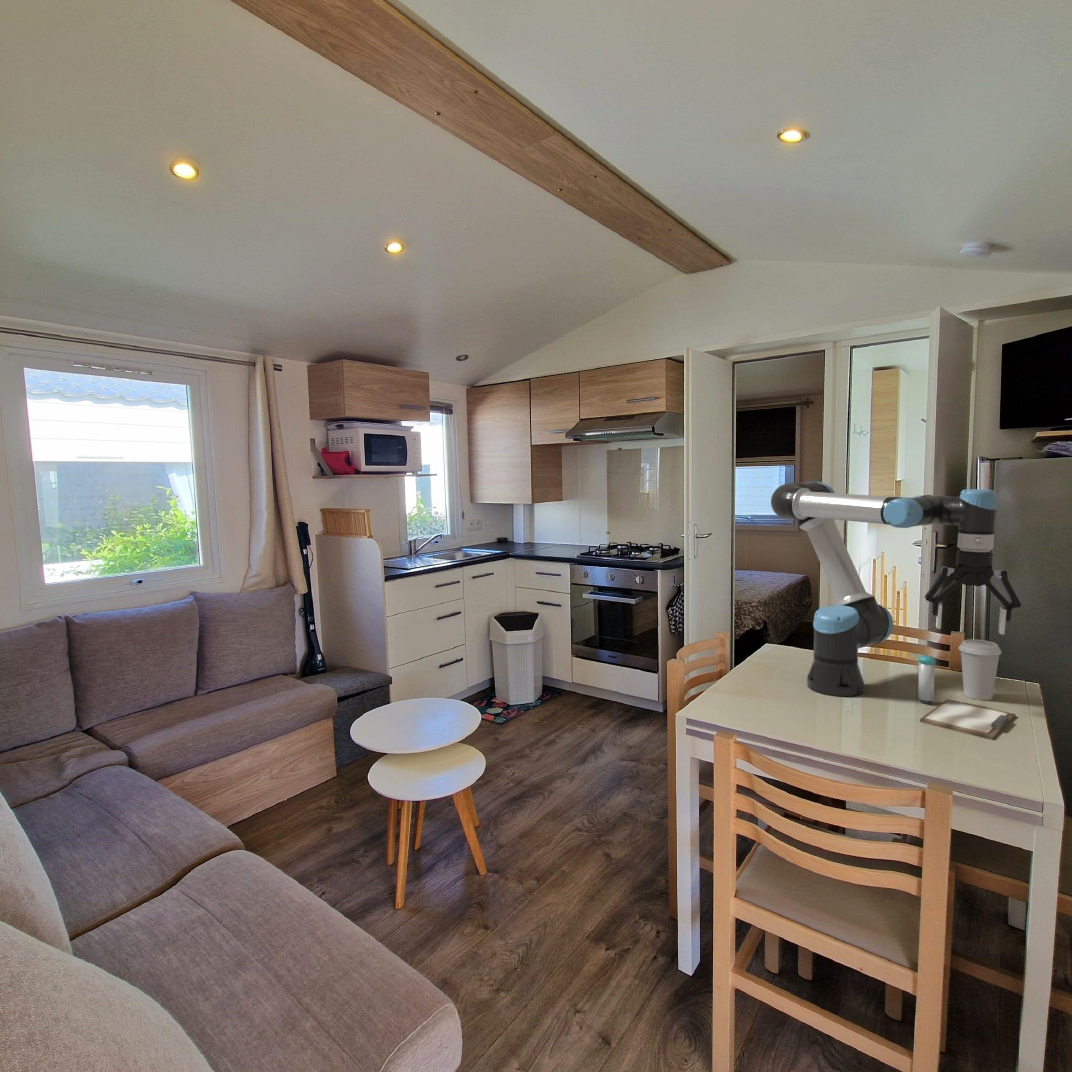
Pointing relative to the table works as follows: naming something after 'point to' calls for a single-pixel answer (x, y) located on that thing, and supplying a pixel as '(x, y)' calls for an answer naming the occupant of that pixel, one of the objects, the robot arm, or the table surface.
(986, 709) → the clipboard
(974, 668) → the coffee cup
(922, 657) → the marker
